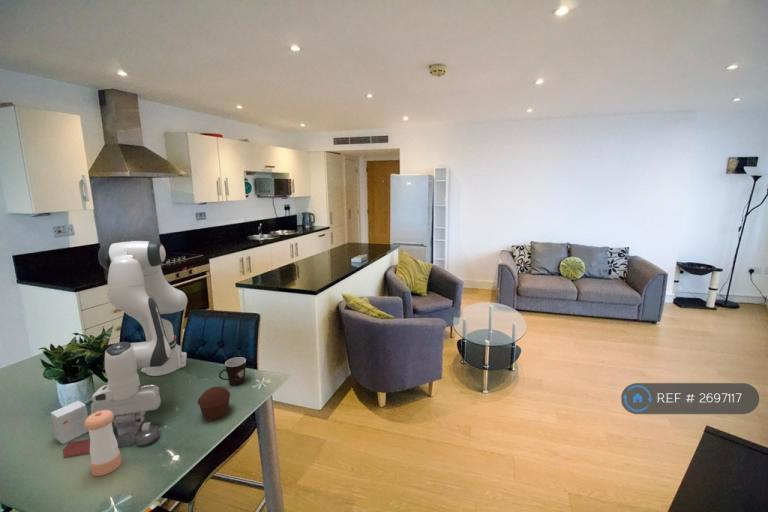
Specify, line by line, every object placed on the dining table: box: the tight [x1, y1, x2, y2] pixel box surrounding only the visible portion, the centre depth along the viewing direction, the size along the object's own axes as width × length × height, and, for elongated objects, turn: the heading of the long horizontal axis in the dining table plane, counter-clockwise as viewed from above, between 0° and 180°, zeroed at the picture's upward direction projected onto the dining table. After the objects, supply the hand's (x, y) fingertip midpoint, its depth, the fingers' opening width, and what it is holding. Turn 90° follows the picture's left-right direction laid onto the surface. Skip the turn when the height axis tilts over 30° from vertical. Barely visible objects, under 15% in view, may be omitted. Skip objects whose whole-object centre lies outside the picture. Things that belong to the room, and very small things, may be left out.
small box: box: [50, 400, 89, 445], centre depth 119 cm, size 8×6×10 cm
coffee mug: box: [218, 356, 247, 387], centre depth 152 cm, size 12×9×10 cm
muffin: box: [197, 386, 231, 421], centre depth 131 cm, size 12×11×10 cm
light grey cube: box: [116, 412, 143, 436], centre depth 122 cm, size 6×6×7 cm
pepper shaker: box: [84, 410, 123, 477], centre depth 104 cm, size 7×7×19 cm
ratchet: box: [62, 421, 161, 459], centre depth 115 cm, size 7×26×6 cm, turn 107°
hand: (129, 423), depth 123 cm, fingers closed on light grey cube, 6 cm apart
